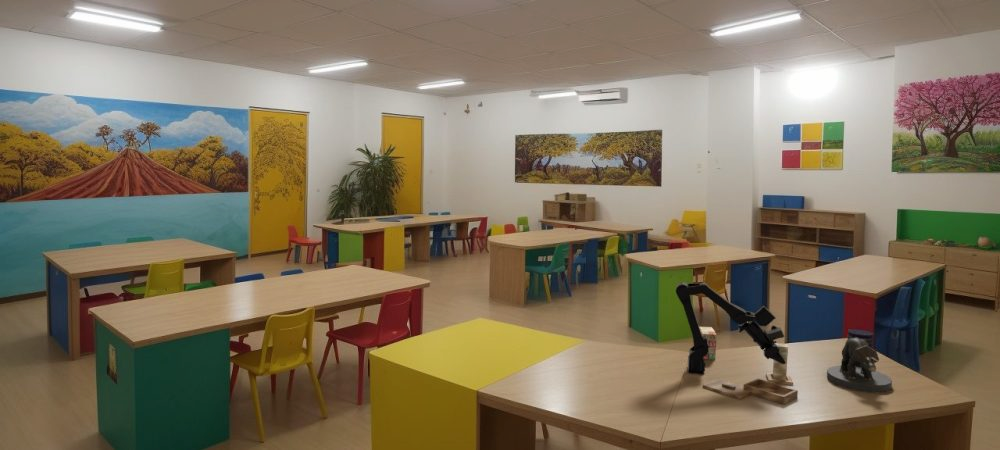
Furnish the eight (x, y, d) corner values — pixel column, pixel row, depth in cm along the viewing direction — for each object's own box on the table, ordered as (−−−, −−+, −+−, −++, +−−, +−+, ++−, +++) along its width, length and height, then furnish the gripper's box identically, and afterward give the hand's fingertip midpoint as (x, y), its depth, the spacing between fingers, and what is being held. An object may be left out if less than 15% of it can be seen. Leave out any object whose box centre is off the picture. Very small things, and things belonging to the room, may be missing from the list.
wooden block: (773, 381, 246) (775, 346, 245) (772, 377, 251) (774, 343, 249) (786, 382, 245) (788, 347, 243) (784, 378, 249) (786, 344, 248)
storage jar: (862, 360, 274) (864, 328, 272) (876, 367, 264) (878, 335, 262) (841, 360, 273) (843, 328, 272) (854, 367, 264) (856, 335, 262)
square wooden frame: (768, 382, 245) (768, 379, 245) (765, 375, 254) (766, 372, 253) (793, 385, 242) (793, 382, 242) (789, 377, 251) (789, 374, 251)
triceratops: (839, 394, 233) (842, 349, 231) (815, 365, 267) (818, 325, 265) (906, 400, 227) (910, 354, 226) (873, 370, 261) (876, 329, 259)
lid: (702, 387, 239) (703, 382, 239) (718, 381, 246) (718, 376, 246) (739, 399, 227) (740, 394, 227) (754, 392, 234) (755, 388, 233)
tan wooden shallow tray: (743, 391, 235) (743, 384, 234) (757, 385, 241) (757, 378, 241) (783, 404, 222) (783, 397, 222) (797, 397, 229) (797, 390, 229)
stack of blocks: (694, 345, 295) (695, 321, 294) (707, 346, 294) (708, 322, 293) (701, 359, 274) (702, 333, 273) (715, 360, 273) (716, 334, 272)
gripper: (775, 326, 238) (804, 356, 235) (769, 315, 255) (796, 343, 253) (752, 344, 241) (781, 373, 239) (748, 332, 258) (774, 359, 256)
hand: (783, 361), depth 247 cm, fingers closed on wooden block, 4 cm apart
